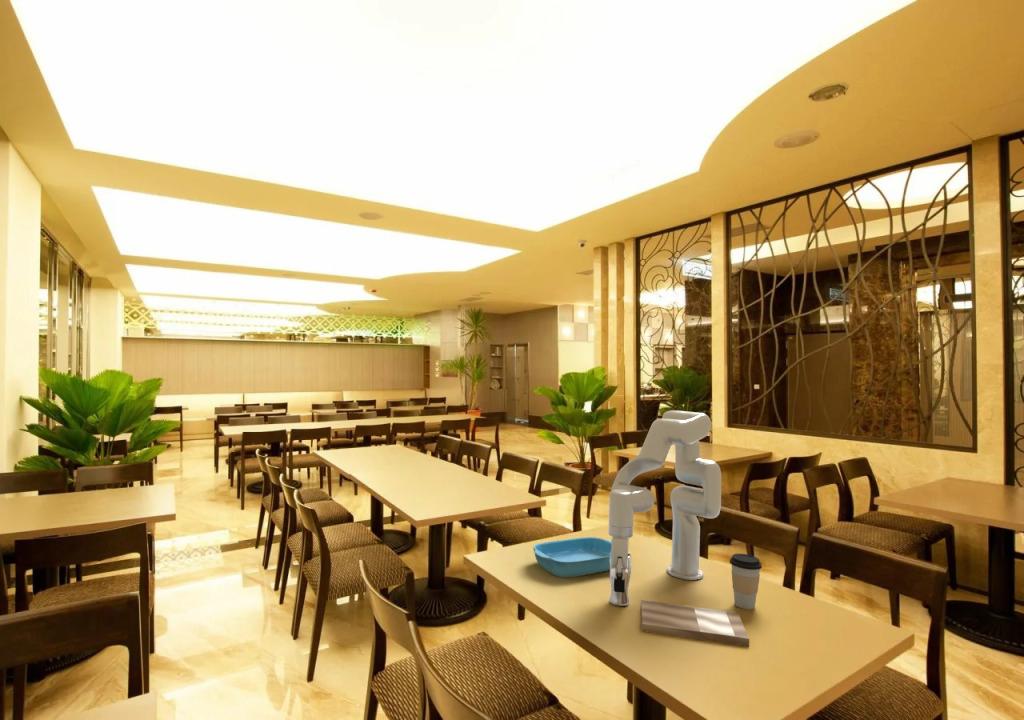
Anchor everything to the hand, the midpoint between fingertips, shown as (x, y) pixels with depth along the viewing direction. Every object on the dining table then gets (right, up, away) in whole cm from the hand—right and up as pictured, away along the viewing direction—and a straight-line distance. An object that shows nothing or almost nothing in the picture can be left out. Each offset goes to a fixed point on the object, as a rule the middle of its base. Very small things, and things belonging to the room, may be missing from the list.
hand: (619, 586), depth 165 cm
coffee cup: (+40, -7, +2) cm, 40 cm away
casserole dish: (-9, -6, +31) cm, 32 cm away
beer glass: (0, -5, 0) cm, 5 cm away
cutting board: (+18, -6, -13) cm, 23 cm away
